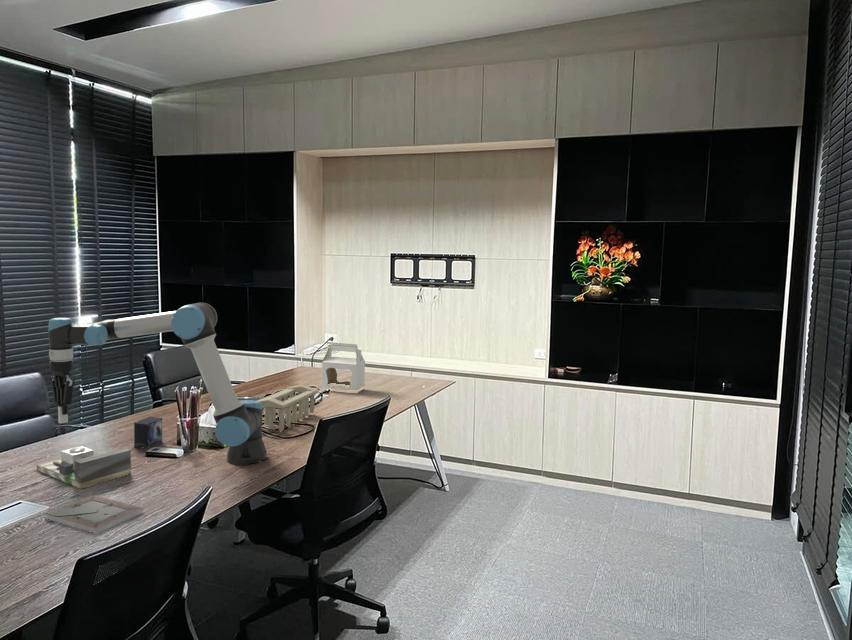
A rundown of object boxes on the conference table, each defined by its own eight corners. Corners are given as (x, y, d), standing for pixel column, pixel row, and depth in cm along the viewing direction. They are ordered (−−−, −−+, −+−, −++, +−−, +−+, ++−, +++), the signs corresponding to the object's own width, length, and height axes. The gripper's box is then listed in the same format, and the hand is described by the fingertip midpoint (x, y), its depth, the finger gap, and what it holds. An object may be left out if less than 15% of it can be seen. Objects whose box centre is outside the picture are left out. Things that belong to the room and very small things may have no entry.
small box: (147, 449, 257) (147, 424, 256) (133, 447, 258) (132, 422, 257) (163, 441, 267) (163, 417, 266) (149, 440, 269) (149, 416, 267)
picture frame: (45, 520, 190) (95, 536, 182) (45, 512, 190) (95, 527, 181) (94, 501, 205) (142, 514, 197) (93, 494, 205) (142, 507, 196)
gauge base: (131, 474, 229) (130, 450, 228) (80, 489, 213) (79, 463, 212) (86, 457, 245) (85, 434, 244) (35, 470, 230) (34, 446, 229)
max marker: (72, 473, 221) (72, 465, 221) (65, 475, 219) (65, 466, 219) (66, 470, 224) (66, 462, 223) (59, 472, 222) (59, 464, 221)
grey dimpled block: (93, 463, 232) (93, 449, 232) (57, 473, 222) (57, 458, 221) (82, 458, 237) (81, 444, 236) (46, 468, 226) (45, 453, 225)
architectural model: (283, 433, 284) (283, 401, 282) (252, 430, 288) (252, 398, 287) (317, 415, 317) (317, 386, 316) (289, 412, 322) (290, 383, 320)
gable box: (321, 391, 369) (321, 343, 366) (330, 386, 382) (331, 340, 379) (356, 394, 364) (357, 346, 361) (364, 389, 376) (365, 343, 373)
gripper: (41, 359, 232) (43, 421, 235) (60, 363, 225) (62, 427, 228) (62, 356, 239) (64, 417, 241) (81, 360, 232) (82, 423, 234)
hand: (63, 422), depth 235 cm, fingers closed
